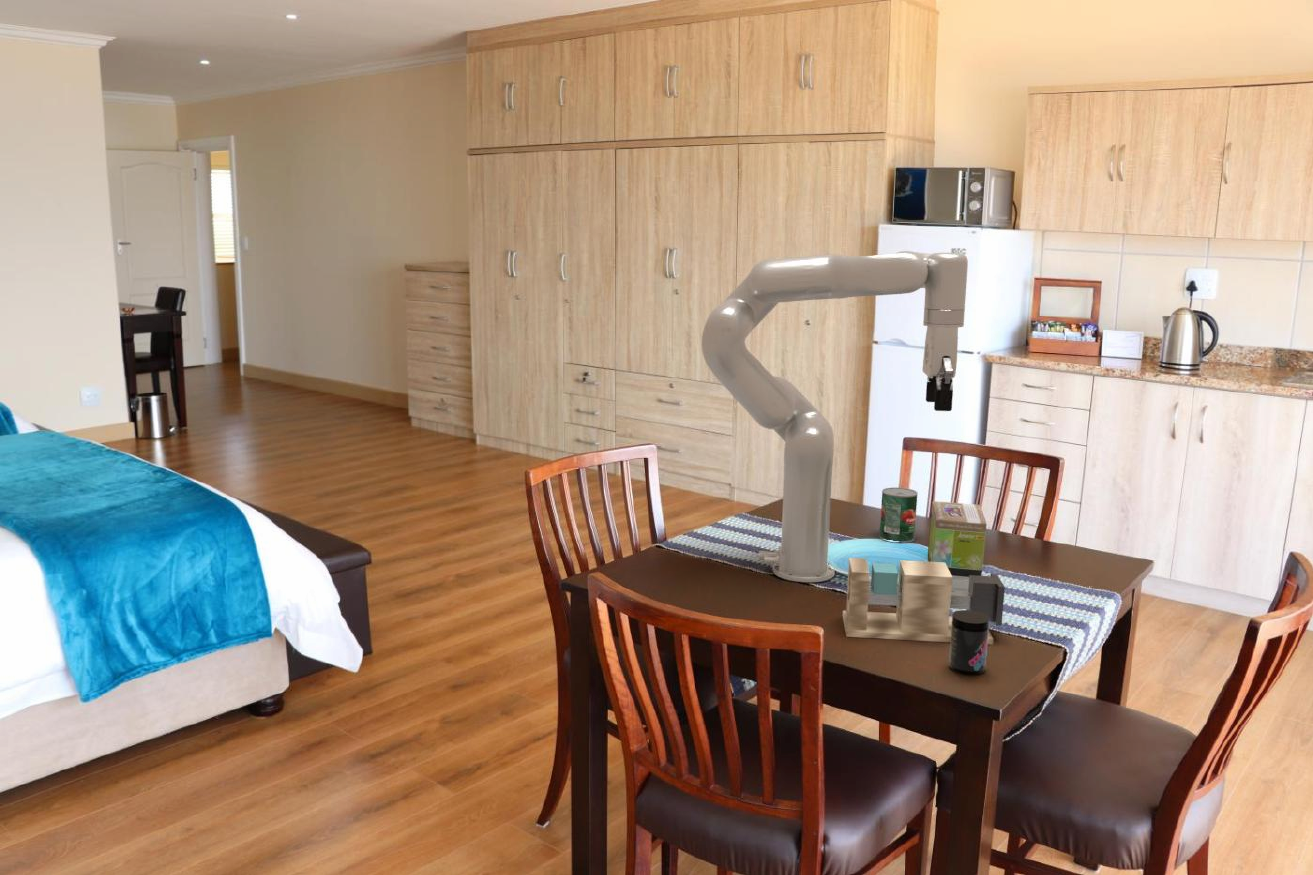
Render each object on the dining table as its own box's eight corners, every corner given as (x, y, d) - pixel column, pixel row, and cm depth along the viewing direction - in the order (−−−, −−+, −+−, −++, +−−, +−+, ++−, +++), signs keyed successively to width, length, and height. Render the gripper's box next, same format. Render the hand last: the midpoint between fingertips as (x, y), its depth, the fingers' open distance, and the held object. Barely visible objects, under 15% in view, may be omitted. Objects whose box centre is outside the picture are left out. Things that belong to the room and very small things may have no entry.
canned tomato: (878, 532, 250) (881, 486, 248) (912, 534, 249) (915, 488, 247) (880, 542, 242) (883, 495, 240) (916, 544, 241) (919, 496, 239)
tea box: (981, 595, 210) (987, 522, 206) (928, 591, 211) (933, 518, 208) (975, 571, 224) (980, 502, 221) (925, 567, 226) (930, 499, 223)
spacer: (873, 593, 188) (874, 572, 188) (870, 584, 193) (872, 563, 192) (896, 595, 188) (898, 573, 187) (893, 585, 193) (894, 564, 192)
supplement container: (962, 678, 172) (967, 625, 170) (940, 664, 177) (944, 612, 175) (993, 673, 174) (997, 620, 172) (970, 659, 179) (974, 608, 177)
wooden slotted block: (846, 636, 188) (849, 573, 186) (842, 615, 198) (845, 555, 195) (992, 644, 185) (998, 581, 183) (981, 623, 195) (986, 562, 193)
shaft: (852, 617, 189) (854, 579, 187) (849, 603, 195) (851, 566, 194) (1001, 625, 186) (1004, 587, 185) (993, 610, 193) (996, 573, 192)
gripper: (916, 313, 215) (912, 398, 218) (931, 322, 198) (925, 413, 201) (955, 314, 214) (949, 399, 218) (973, 323, 197) (966, 414, 201)
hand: (938, 406), depth 209 cm, fingers open, 9 cm apart
